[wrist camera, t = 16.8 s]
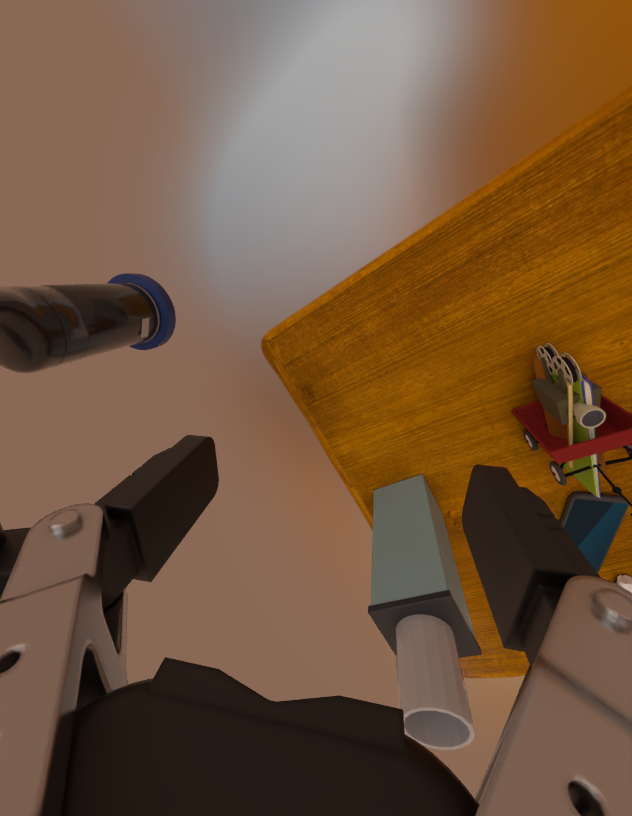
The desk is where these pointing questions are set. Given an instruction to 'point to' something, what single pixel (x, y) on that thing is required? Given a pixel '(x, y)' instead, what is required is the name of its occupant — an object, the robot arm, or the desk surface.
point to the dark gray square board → (415, 564)
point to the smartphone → (593, 523)
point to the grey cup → (431, 684)
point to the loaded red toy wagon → (574, 421)
